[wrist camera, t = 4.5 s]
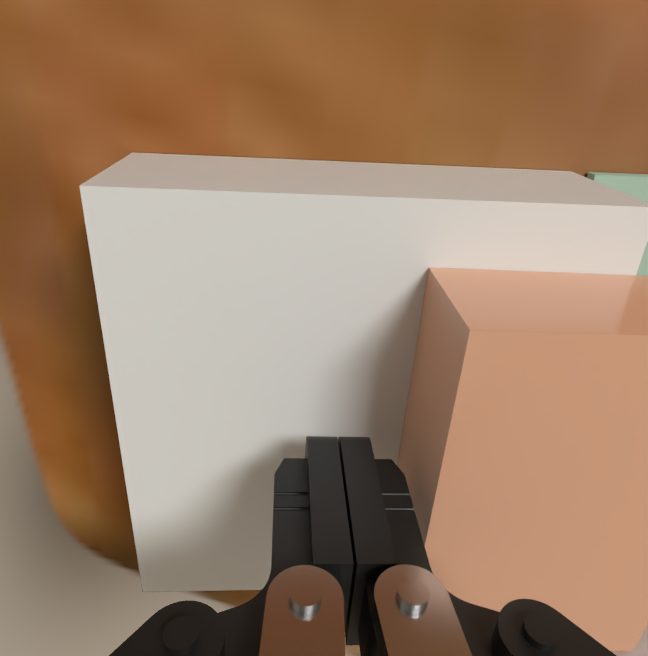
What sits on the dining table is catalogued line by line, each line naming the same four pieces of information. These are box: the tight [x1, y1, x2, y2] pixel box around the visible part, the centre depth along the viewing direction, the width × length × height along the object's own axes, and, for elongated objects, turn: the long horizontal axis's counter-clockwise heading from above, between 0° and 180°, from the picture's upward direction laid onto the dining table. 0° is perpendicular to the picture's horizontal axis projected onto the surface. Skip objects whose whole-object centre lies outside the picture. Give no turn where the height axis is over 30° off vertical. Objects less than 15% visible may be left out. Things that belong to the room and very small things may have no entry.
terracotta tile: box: [397, 267, 648, 651], centre depth 13 cm, size 9×6×3 cm, turn 176°
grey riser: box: [80, 153, 648, 592], centre depth 15 cm, size 12×12×4 cm
